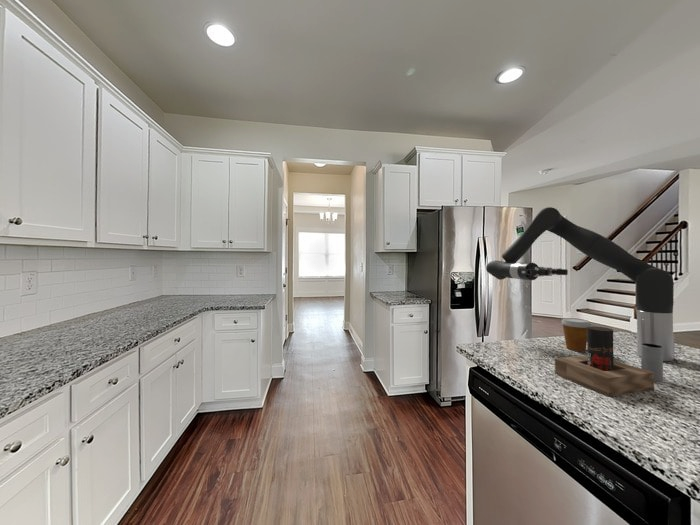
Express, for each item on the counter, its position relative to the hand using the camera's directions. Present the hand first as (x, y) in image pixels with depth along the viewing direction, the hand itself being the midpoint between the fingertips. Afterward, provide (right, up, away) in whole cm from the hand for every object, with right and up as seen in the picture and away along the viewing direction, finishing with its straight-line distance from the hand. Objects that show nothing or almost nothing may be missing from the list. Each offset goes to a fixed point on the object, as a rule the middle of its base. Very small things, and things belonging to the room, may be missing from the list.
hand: (557, 272), depth 110 cm
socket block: (-4, -32, -23) cm, 40 cm away
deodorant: (-4, -31, -23) cm, 39 cm away
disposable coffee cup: (+13, -32, +8) cm, 35 cm away
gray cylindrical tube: (+13, -32, -22) cm, 41 cm away
